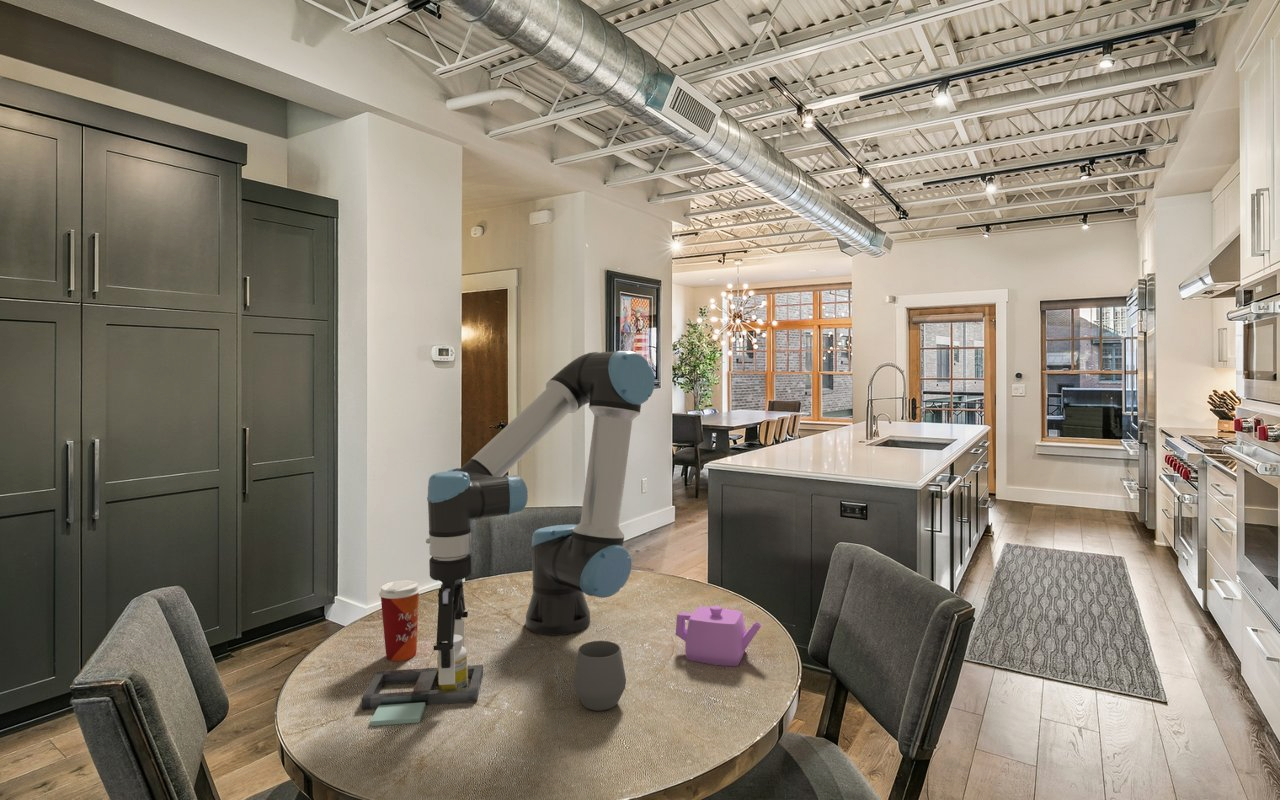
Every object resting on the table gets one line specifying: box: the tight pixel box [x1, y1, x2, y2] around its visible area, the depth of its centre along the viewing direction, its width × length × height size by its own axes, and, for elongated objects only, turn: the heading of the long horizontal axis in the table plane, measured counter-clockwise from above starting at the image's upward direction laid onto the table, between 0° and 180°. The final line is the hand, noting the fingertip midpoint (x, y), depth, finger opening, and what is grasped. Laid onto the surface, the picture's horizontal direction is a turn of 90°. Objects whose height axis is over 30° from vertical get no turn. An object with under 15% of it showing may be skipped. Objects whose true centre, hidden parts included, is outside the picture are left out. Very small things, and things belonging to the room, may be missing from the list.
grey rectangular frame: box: [361, 664, 484, 711], centre depth 127 cm, size 20×11×2 cm, turn 98°
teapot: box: [675, 605, 762, 667], centre depth 142 cm, size 18×10×10 cm, turn 71°
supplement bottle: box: [436, 635, 469, 690], centre depth 127 cm, size 5×5×10 cm
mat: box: [369, 702, 426, 727], centre depth 118 cm, size 8×6×1 cm
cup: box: [572, 640, 627, 712], centre depth 121 cm, size 10×9×10 cm
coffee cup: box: [378, 579, 421, 662], centre depth 143 cm, size 8×8×15 cm
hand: (452, 667), depth 127 cm, fingers open, 13 cm apart
